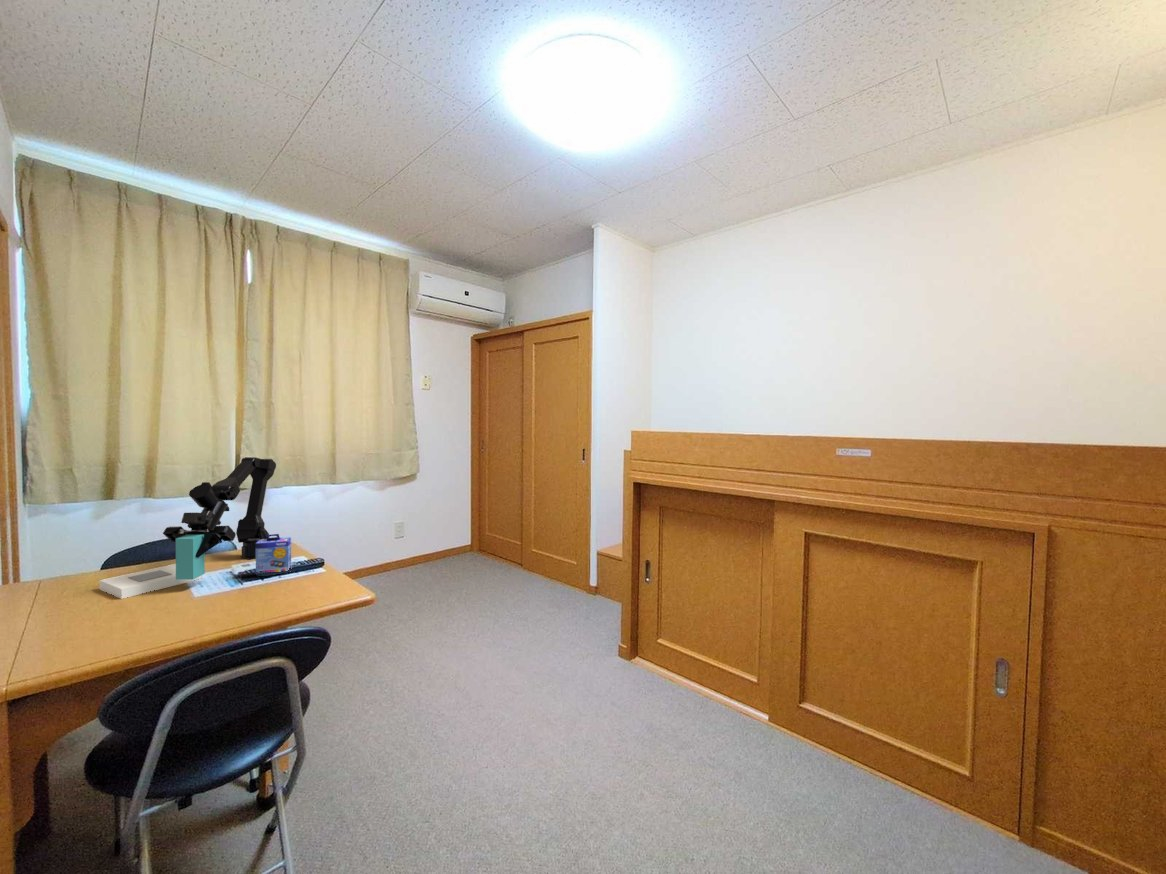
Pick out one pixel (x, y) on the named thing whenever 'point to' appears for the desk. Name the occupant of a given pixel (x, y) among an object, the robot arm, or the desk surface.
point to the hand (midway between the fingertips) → (187, 557)
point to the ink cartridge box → (273, 554)
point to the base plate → (142, 581)
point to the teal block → (189, 557)
